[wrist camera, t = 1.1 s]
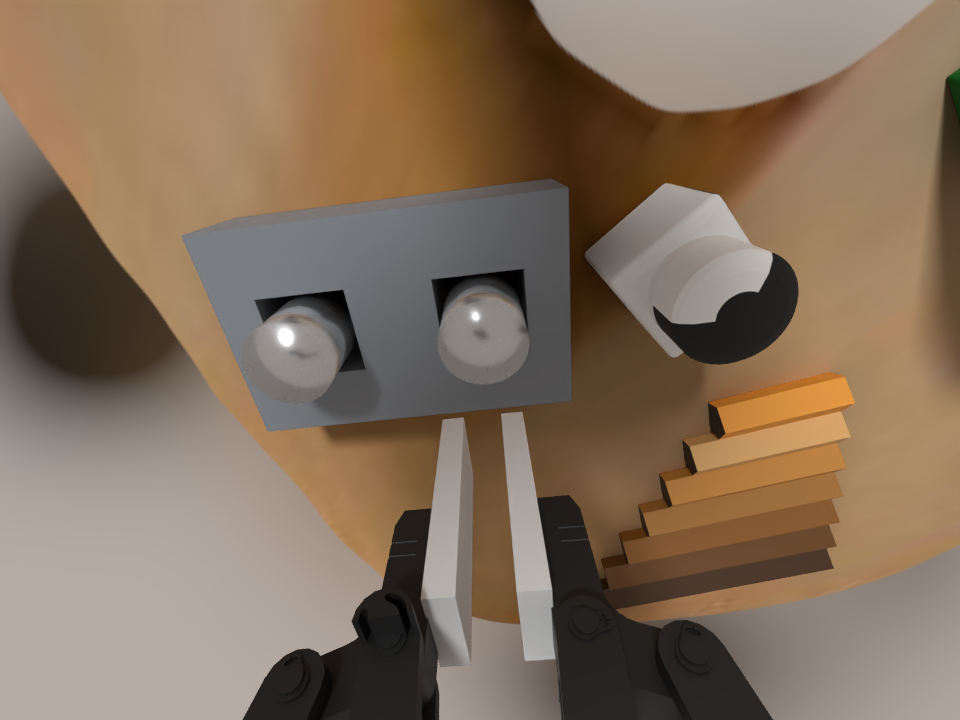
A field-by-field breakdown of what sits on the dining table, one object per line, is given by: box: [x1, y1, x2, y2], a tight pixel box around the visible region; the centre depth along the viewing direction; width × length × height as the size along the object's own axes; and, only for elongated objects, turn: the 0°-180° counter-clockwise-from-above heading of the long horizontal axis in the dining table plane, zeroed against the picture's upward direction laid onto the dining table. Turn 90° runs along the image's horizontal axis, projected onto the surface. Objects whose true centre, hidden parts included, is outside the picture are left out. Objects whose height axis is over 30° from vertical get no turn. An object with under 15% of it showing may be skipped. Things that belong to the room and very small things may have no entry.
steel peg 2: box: [438, 274, 529, 385], centre depth 25 cm, size 5×5×5 cm
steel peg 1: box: [241, 294, 356, 404], centre depth 25 cm, size 5×5×5 cm
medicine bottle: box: [585, 183, 798, 364], centre depth 25 cm, size 7×7×12 cm
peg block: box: [182, 178, 572, 431], centre depth 29 cm, size 14×22×6 cm, turn 97°
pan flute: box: [600, 372, 855, 609], centre depth 41 cm, size 25×3×25 cm
